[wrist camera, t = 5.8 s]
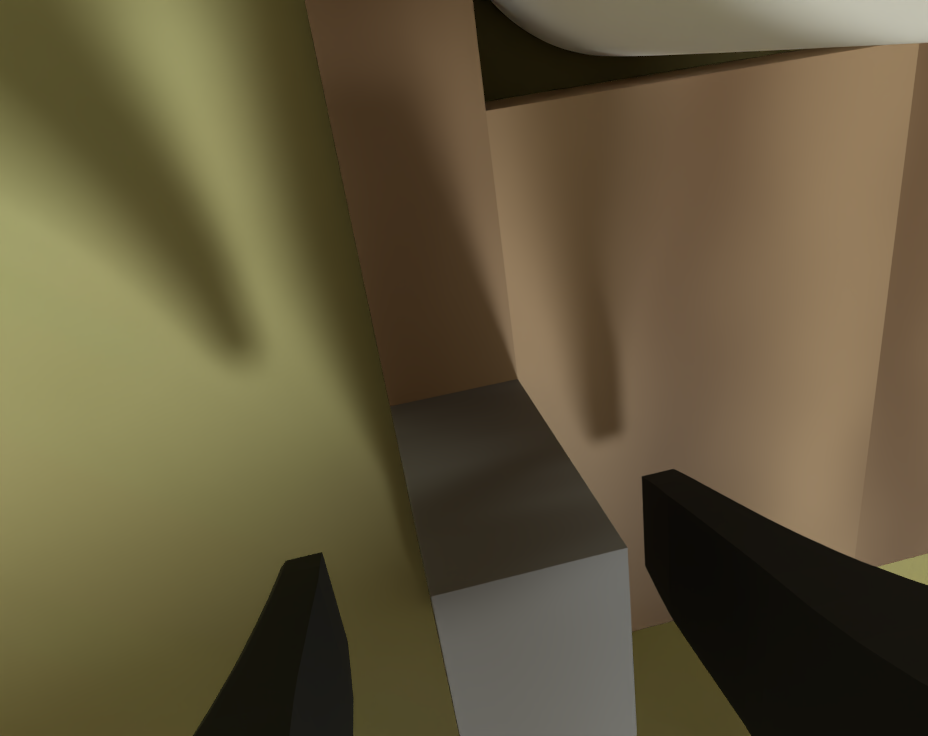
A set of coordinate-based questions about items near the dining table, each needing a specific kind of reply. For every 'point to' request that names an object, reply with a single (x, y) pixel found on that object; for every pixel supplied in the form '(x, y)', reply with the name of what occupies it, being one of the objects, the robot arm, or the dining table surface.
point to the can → (716, 24)
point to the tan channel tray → (628, 327)
